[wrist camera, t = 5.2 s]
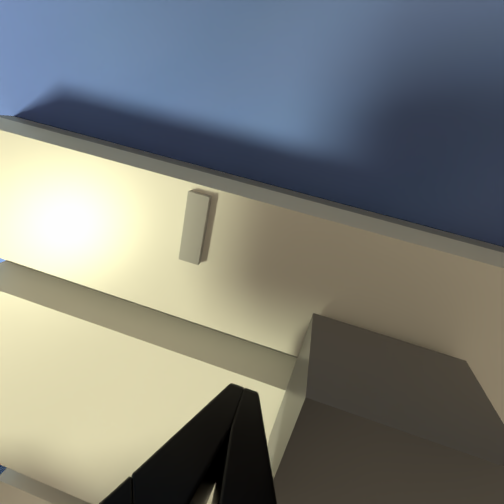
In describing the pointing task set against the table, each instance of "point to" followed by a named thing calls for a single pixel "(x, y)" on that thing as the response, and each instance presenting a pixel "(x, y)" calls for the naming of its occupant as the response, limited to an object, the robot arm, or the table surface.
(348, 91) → the table surface
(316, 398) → the block
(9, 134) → the console
